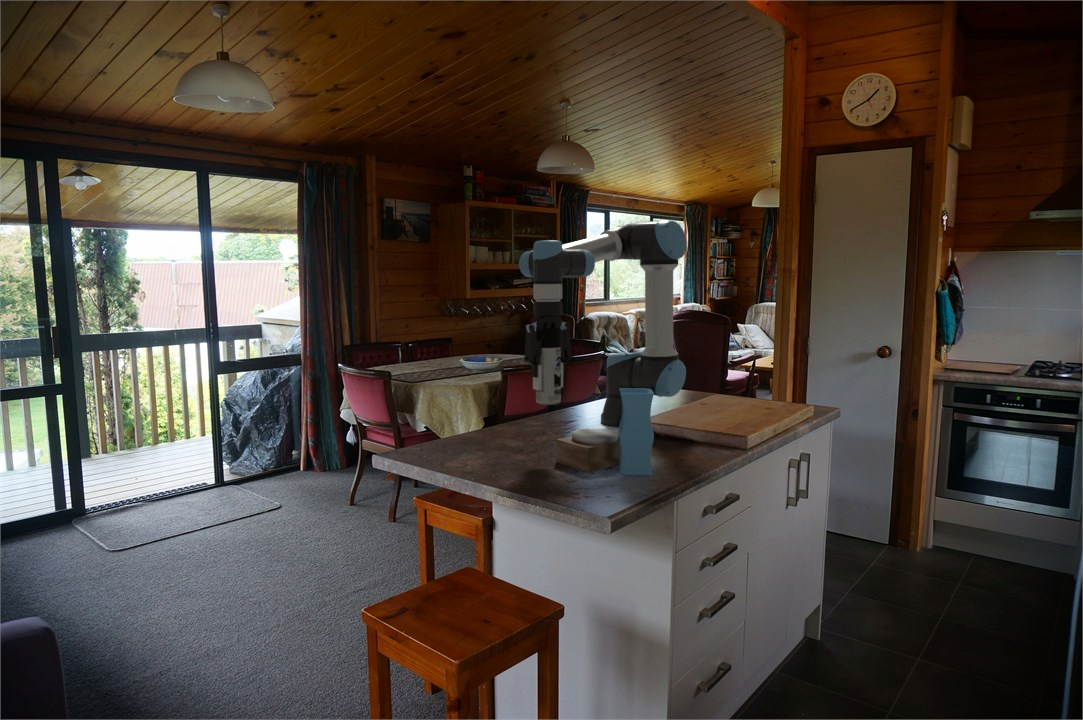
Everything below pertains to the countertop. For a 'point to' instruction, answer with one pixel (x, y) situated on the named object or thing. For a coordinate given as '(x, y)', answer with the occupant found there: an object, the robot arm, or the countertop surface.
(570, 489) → the countertop surface
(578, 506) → the countertop surface
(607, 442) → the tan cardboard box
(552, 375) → the spray can
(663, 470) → the countertop surface
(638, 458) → the vase
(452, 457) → the countertop surface
